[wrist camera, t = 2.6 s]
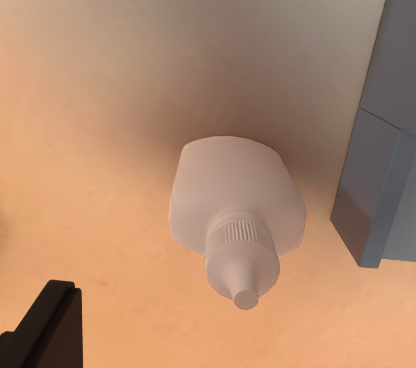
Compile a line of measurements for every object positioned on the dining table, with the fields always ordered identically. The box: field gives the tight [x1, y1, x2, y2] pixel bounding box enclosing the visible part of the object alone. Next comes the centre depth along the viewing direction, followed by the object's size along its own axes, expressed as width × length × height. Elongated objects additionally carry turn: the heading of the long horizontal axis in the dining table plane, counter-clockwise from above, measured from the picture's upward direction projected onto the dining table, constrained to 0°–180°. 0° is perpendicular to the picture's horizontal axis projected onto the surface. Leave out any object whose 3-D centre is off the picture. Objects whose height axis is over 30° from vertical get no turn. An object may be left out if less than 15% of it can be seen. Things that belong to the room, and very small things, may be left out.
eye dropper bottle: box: [169, 136, 306, 310], centre depth 17 cm, size 4×6×12 cm
